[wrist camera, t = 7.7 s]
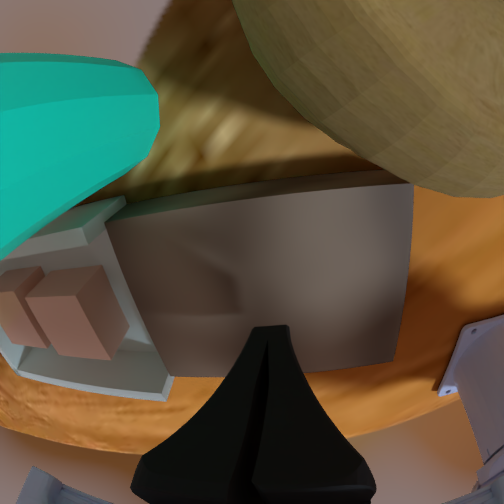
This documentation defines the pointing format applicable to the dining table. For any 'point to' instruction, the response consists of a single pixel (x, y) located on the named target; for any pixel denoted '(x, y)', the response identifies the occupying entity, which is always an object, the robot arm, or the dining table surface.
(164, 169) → the dining table surface
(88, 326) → the tile
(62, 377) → the tray
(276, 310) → the grey slab
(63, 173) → the candle
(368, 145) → the pot
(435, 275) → the dining table surface
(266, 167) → the dining table surface
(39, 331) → the tile
